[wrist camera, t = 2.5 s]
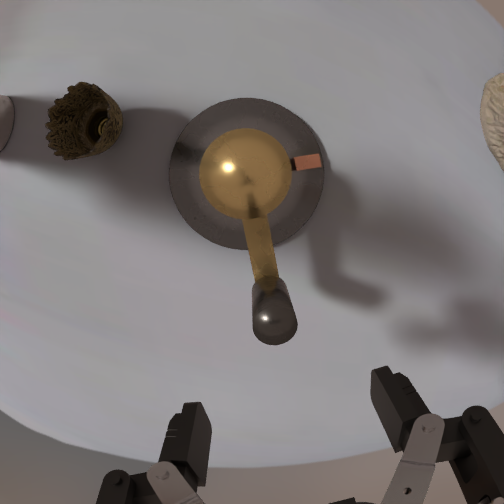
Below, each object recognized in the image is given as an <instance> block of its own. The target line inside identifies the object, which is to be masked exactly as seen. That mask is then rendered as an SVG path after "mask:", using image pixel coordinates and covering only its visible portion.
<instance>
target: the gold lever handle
mask: <svg viewBox="0 0 504 504" xmlns="http://www.w3.org/2000/svg"><path fill="white" fill-rule="evenodd" d="M199 179H200V185H201V188H202V191H203V193H204V195H205V197H206V199H207V200H208V201H209V203H210V204H211V205H212V206H213V207H214V208H215V209H217V210H218V211H219V212H221V213H223V214H225V215H227V216H229V217H232V218H236V219H242V222H243V227H244V232H245V236H246V241H247V246H248V250H249V255H250V260H251V264H252V269H253V274H254V278H255V283H254V285H253V288H252V316H253V332H254V334H255V336H256V337H257V338H258V339H259V340H260V341H261V342H263V343H265V344H268V345H280V344H283V343H285V342H287V341H289V340H290V339H291V338H292V337H293V336H294V335H295V333H296V331H297V326H298V324H297V319H296V315H295V312H294V309H293V306H292V303H291V299H290V296H289V293H288V290H287V287H286V284H285V282H284V281H283V280H282V279H281V278H279V275H278V269H277V264H276V259H275V253H274V248H273V243H272V238H271V233H270V227H269V222H268V217H267V214H268V213H270V212H271V211H273V210H274V209H275V208H277V207H278V206H279V205H280V204H281V202H282V201H283V200H284V198H285V197H286V195H287V193H288V190H289V188H290V184H291V179H292V169H291V163H290V159H289V157H288V155H287V153H286V151H285V149H284V148H283V146H282V145H281V144H280V143H279V142H278V141H277V140H276V139H275V138H273V137H272V136H271V135H269V134H267V133H265V132H263V131H260V130H256V129H250V128H241V129H235V130H231V131H229V132H226V133H224V134H222V135H221V136H219V137H218V138H216V139H215V140H214V141H213V142H212V143H211V144H210V145H209V147H208V148H207V149H206V151H205V153H204V155H203V157H202V159H201V163H200V169H199Z"/></svg>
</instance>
